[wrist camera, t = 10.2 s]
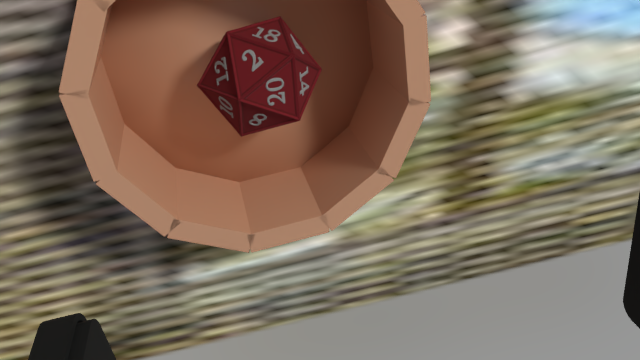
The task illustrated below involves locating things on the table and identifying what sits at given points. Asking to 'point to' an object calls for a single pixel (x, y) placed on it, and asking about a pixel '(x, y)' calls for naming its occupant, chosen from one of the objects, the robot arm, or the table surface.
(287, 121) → the dice
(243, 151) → the bowl
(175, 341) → the table surface
